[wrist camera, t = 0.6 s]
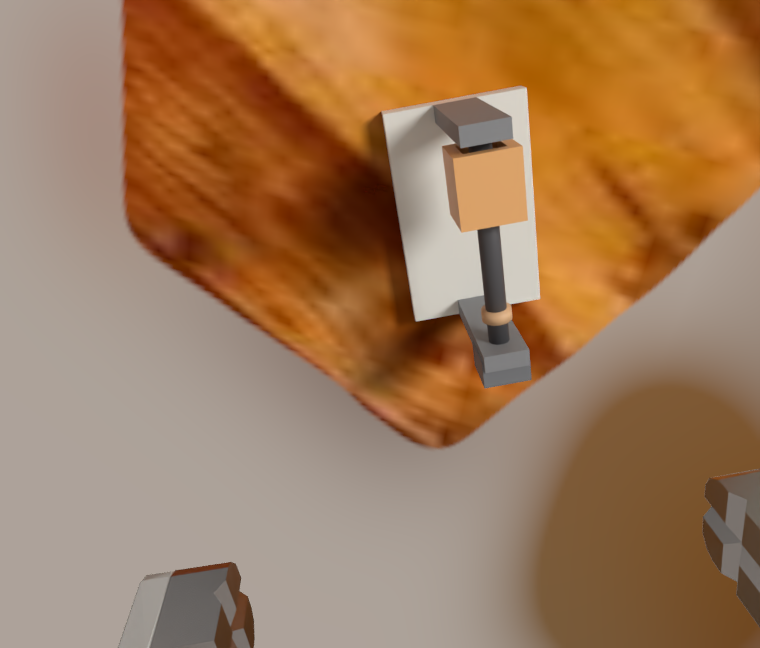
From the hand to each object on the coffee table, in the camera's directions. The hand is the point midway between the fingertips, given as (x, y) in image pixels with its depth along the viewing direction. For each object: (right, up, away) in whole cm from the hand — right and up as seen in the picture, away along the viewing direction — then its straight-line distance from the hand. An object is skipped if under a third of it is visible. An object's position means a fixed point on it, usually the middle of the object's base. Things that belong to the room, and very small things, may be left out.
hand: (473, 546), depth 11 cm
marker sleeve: (+5, +13, +30) cm, 33 cm away
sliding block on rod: (+5, +13, +38) cm, 40 cm away
